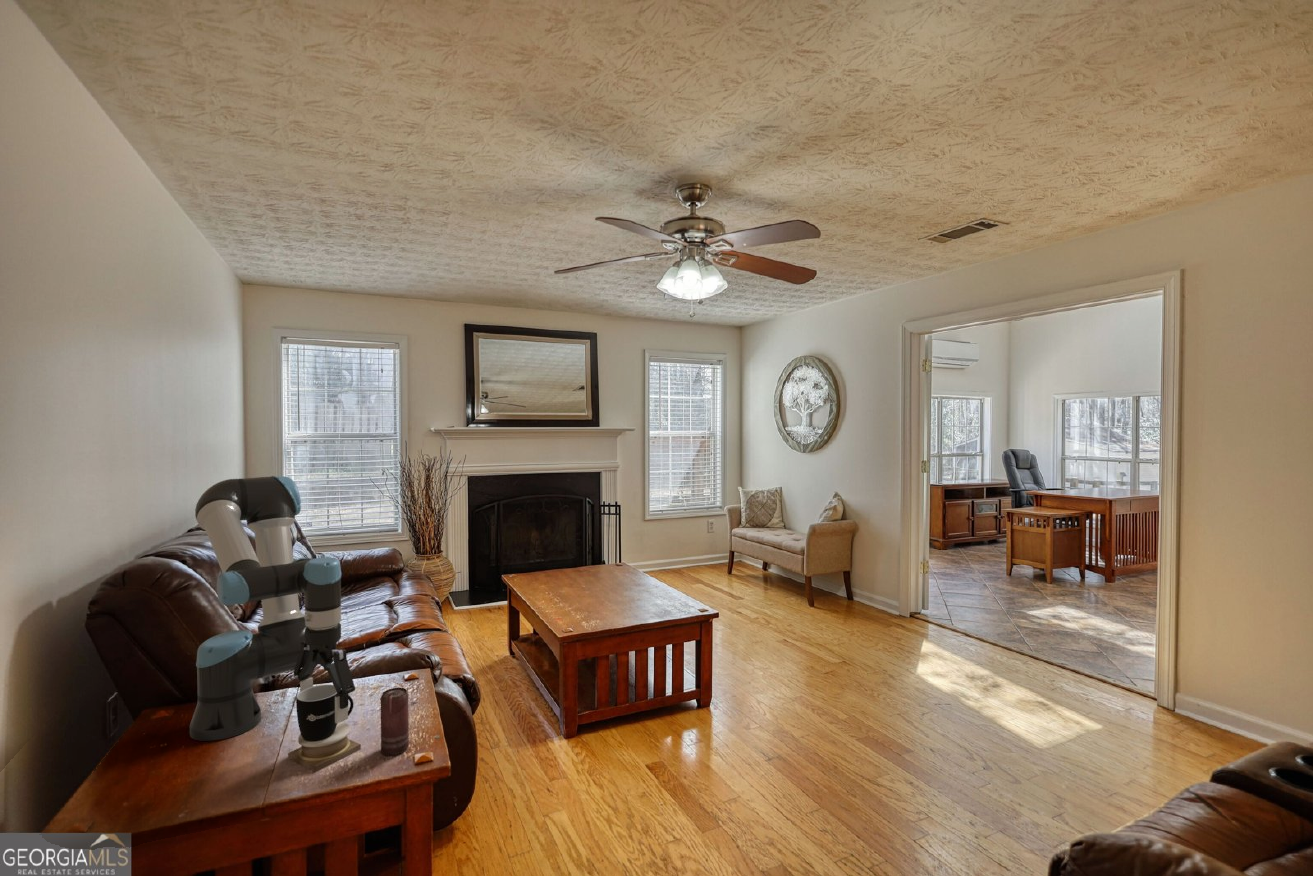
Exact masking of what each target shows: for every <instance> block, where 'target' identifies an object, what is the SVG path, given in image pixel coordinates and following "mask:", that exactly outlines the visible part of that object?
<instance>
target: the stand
mask: <svg viewBox="0 0 1313 876" xmlns="http://www.w3.org/2000/svg"><path fill="white" fill-rule="evenodd" d="M350 732H351V726H350V725H349V724H348V723H346V722H344V721H342V722H340V723H338V724H337V726H336V729H335V731H334V733H333V734H332V735H331V736H330V737H328V738H326V739H324V740H320V741H315V742H309V741H305V740H304V739H303V738H302V736H301V733H300V734H299V735H298V741H297V742H298V744H299V745H300V747H299V748H296V749H294V750H292V751H289V752H287V758H288V759H289V760H291V761H293V762H296V763H297V764H300V765H301V766H304V767H306V768H307V769H310V770H312V771H314V772H315V773H316V772H318V771H320V770H322V769H324V768H326V767H329V766H330V765H332V764H335V763H336V762H338V761H340V760H342V759H344V758H345V757H349V756H350V755H353V754H354V753H355V752H358V751H360V750H361V749H362V748H361V747H362V746H361V745H362V744H361V743H359V742H357V741H354V740H352V739H350V738H348V736H349V735H350Z"/></svg>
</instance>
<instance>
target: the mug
mask: <svg viewBox="0 0 1313 876" xmlns="http://www.w3.org/2000/svg"><path fill="white" fill-rule="evenodd" d="M336 694H337V692H336V689H335V687H334V685H333V684H320V685H313V687H310V688H307V689H305V690H303V691H301V692H300V691H299V692H298V693H297V694H296V698H295V703H296V704H295V706H296V715H297V722H298V728H299V733H300V734H301V736H302V738H303V739H304V740H305V741H309V742H315V741H320V740H324V739H326V738H328V737H330V736H331V735H332V734H333V733H334V731H335V729H336V726H337V723H335V695H336ZM348 702H349V704H350V706H349V707H348V717H349V716H350V714H351V713H352V711H353V709H354V701H353V698H352V696H351V695H349V694H348Z"/></svg>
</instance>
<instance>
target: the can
mask: <svg viewBox="0 0 1313 876" xmlns="http://www.w3.org/2000/svg"><path fill="white" fill-rule="evenodd" d="M409 725H410V724H409V692H408V691H407V689H406V688H405V687H393V688H389V689H386V690H384V691H383V692H382V694H381V697H380V751H381V752H382V754H383V755H384V756H389V757H391V756H398V755H401V754H402V753H404V752H406V751H407V750H408V748H409V745H410V743H409V742H410V741H409V740H410V739H409V737H410V735H409V733H410V731H409V728H410V727H409Z"/></svg>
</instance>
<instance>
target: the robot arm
mask: <svg viewBox="0 0 1313 876" xmlns="http://www.w3.org/2000/svg"><path fill="white" fill-rule="evenodd" d="M301 503H302V500H301V494H300V491H299V488H298V486H297V484H296V482H295V480H293V479H292V478H291V477H289V476H275V475H272V476H260V477H247V478H245V477H243V478H229V479H224V480H221V481H219V482H217V483H215V484H213V485H211V486H210V487H208V488H207V489H206V490H205V491H204V492H203V493H202V494H201V496H200V497H199V499H198V501H197V502H196V504H195V510H194V511H195V514H194V517H195V519H196V522H197V525H198V526H199V527H200V528H201V530H204V531H205V532H206V535H207V536H208V539H209V542H210V544H211V547H212V550H213V552H214V554H215V557H216V560H217V562H218V565H219V567H220V569H221V572H222V573H220V574H219V575H218V576H217V580H216V593H217V599H218V602H219V603H220V605H222V606H233V605H243V604H247V603H254V602H258V601H261V606H262V607H261V609H262V616H263V618H262V620H261V622H260V623H258V625H257V633H252V631H251V630H250V629H246V628H245V629H234V630H229V631H225V632H222V633H219V634H217V635H214V636H212V637H210V638H208V639H206V640H205V641H204V642H202V643H201V644H200V645H199V646H198V648H197V652H196V653H197V654H196V662H195V667H196V673H197V674H196V675H197V678H196V679H197V680H196V681H197V682H196V683H197V704H196V707H195V709H194V712H193V715H192V719H191V721H190V724H189V737H190V738H191V739H193V740H195V741H199V742H211V741H220V740H225V739H229V738H232V737H236V736H238V735H241V734H243V733H246V732H248V731H250V730H252V729H253V728H255V727H256V726H258V725H259V724H260V723H261V720H262V709H261V707H260V705H259V702H258V700H257V697H256V696H255V693H254V690H253V688H254V687H253V684H254V683H253V682H254V681H255V680H259V679H264V678H266V677H271V676H275V675H279V674H283V673H286V672H287V673H288V672H290V671H291V672H293V675H294V676H295V677H296V676H297V678H298V681H299V693H300V692H301V691H303V690H305V689H307V688H310V687H314V677H313V676H314V674H313V673H314V671H315V669H316V668H317V666H318V665H320V666H321V667H322V668H323V669H324V671H327V673H328V676H329V679H330V680H331V682H332V685H334V687H335V689H336V692H337V694H336V695H335V723H337V724H338V723H340V722H344V721H347V720H348V719H349V716H348V710H349V699H348V695H349V694H350V693H353V692H355V691H356V687H355V683H354V679H353V677H352V673H351V670H350V665H349V662H348V658H347V650H346V649H345V648H342V649H338V647H337V644H338V642H339V641H340V640H341V638H342V623H341V622H342V603H341V602H342V580H341V579H342V574H343V573H342V570H341V569H342V567H341V561H340V560H339V559H338V558H336V557H331V556H328V557H327V556H326V557H317V558H312V557H311V558H310V557H299V558H296V559H295V560H294V551H293V542H292V535H291V534H292V533H291V529H290V528H291V526H292V525H293V524H294V522H296V516H298V515H299V514H300V512H301V509H302V506H301ZM242 521H246V526H247V528H248V529H249V530H250V531H252V532H253V533H254V540H255V541H254V542H255V550H256V552H255V550H254V547H253V545H252V543H251V541H250V538H249V536H248V535H247V532H246V530H245V528H244V525H243V524H242ZM298 594H303V595H304V610H305V611H304V613H303V612H302V611H300V610H301V609H300V603H299V602H300V601H299V595H298Z"/></svg>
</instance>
